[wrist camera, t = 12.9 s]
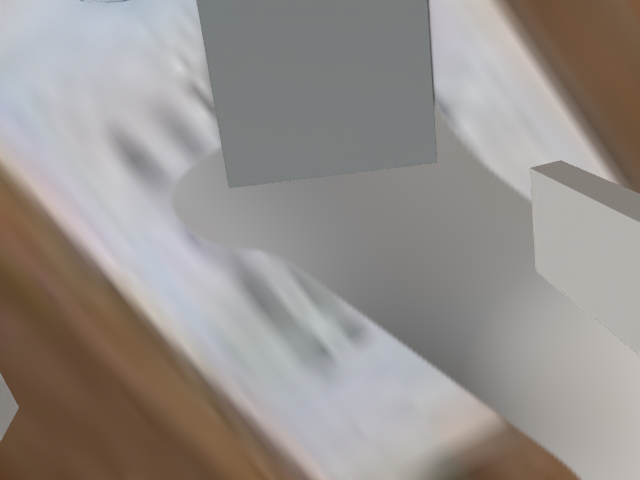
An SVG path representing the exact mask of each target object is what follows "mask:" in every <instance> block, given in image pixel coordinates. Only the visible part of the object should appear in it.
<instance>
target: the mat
mask: <svg viewBox="0 0 640 480" xmlns="http://www.w3.org/2000/svg"><path fill="white" fill-rule="evenodd" d="M197 6H198V12H199V17H200V23H201V29H202V35H203V40H204V46H205V52H206V58H207V64H208V69H209V75H210V81H211V87H212V92H213V98H214V104H215V110H216V116H217V121H218V127H219V133H220V139H221V144H222V150H223V156H224V161H225V168H226V173H227V179H228V185H229V188H233V187H242V186H249V185H258V184H266V183H274V182H282V181H291V180H299V179H307V178H316V177H324V176H332V175H340V174H348V173H357V172H365V171H373V170H381V169H388V168H389V169H390V168H397V167H406V166H414V165H422V164H431V163H437V155H436V137H435V121H434V104H433V87H432V71H431V54H430V37H429V21H428V4H427V0H197Z"/></svg>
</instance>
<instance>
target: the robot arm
mask: <svg viewBox="0 0 640 480" xmlns="http://www.w3.org/2000/svg"><path fill="white" fill-rule="evenodd" d="M530 179H531V196H532V213H533V230H534V246H535V264H536V271H537V272H538V273H539V274H540V275H541V276H543V277H544V278H545V279H546V280H547V281H549V282H550V283H551V284H552V285H553V286H555V287H556V288H557V289H558V290H560V291H561V292H562V293H564V295H566V296H567V297H568V298H569V299H571V300H572V301H573V302H574V303H575V304H577V305H578V306H579V307H580V308H581V309H583V310H584V311H585V312H586V313H588V314H589V315H590V316H591V317H593V318H594V319H595V320H596V321H597V322H599V323H600V324H601V325H602V326H603V327H605V328H606V329H607V330H608V331H610V332H611V333H612V334H613V335H614V336H616V337H617V338H618V339H619V340H620V341H622V342H623V343H624V344H625V345H627V346H628V347H629V348H630V349H631V350H633V351H634V352H635V353H636V354H638V355H639V356H640V194H638V193H636V192H634V191H631V190H629V189H627V188H624V187H622V186H620V185H617V184H615V183H613V182H610V181H608V180H605V179H603V178H601V177H598V176H596V175H594V174H591V173H589V172H587V171H584V170H582V169H580V168H577V167H575V166H573V165H570V164H568V163H566V162H563V161H561V160H560V161H556V162H552V163H548V164H544V165H540V166H536V167H532V168H530ZM18 408H19V407H18V405H17V403H16V401H15V400H14V398H13V396H12V394H11V392H10V390H9V388H8V386H7V385H6V383H5V381H4V379H3V377H2V375H1V373H0V441H1V440H2V438H3V436H4V434H5V432H6V430H7V428H8V427H9V425H10V423H11V421H12V419H13V417H14V415H15V414H16V412H17V410H18Z"/></svg>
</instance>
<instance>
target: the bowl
mask: <svg viewBox="0 0 640 480" xmlns="http://www.w3.org/2000/svg"><path fill="white" fill-rule="evenodd" d="M81 1H87V2H94V1H99V2H123V1H127V0H81Z"/></svg>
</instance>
